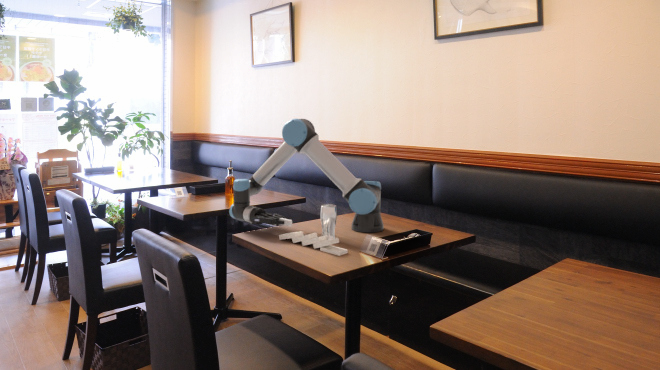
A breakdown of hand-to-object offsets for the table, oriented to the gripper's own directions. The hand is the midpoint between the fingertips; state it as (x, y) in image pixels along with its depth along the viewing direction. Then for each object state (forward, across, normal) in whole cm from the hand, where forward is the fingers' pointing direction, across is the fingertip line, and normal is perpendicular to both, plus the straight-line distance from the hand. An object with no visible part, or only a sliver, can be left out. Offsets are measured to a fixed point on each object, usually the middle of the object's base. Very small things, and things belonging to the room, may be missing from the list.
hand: (290, 223), depth 207 cm
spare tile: (-5, 0, -6) cm, 8 cm away
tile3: (+9, 0, -7) cm, 11 cm away
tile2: (+3, 0, -6) cm, 7 cm away
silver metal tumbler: (+11, -12, -8) cm, 18 cm away
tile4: (+16, 0, -6) cm, 17 cm away
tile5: (+20, 0, -7) cm, 21 cm away
